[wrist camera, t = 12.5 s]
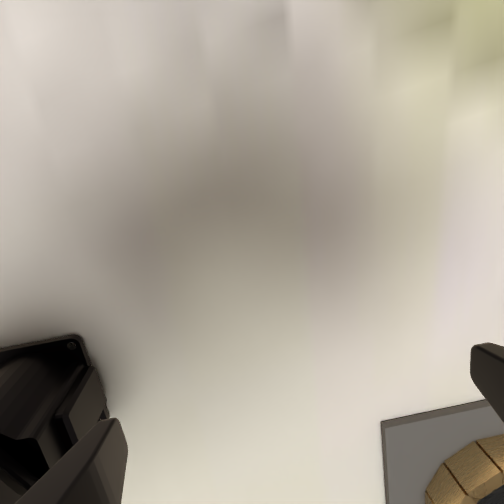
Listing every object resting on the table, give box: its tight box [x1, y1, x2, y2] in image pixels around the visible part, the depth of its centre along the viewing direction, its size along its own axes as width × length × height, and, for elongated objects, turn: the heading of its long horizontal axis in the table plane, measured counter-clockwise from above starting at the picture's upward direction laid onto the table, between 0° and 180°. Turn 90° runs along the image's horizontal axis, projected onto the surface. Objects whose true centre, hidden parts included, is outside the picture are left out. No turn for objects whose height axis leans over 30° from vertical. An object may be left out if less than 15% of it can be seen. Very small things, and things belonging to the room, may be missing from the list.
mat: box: [381, 400, 504, 504], centre depth 27 cm, size 16×16×1 cm
